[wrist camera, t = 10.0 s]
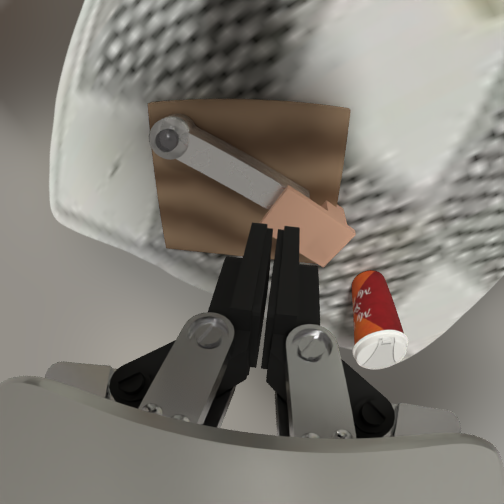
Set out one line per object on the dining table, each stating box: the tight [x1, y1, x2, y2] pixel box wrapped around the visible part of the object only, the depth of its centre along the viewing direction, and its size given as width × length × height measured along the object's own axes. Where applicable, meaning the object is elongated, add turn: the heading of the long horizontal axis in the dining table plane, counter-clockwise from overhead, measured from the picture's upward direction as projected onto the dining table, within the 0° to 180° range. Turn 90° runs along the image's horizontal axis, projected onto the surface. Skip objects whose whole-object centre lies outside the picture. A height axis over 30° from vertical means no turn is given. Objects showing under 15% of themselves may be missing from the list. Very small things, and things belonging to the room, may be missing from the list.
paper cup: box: [352, 270, 408, 369], centre depth 39 cm, size 8×8×14 cm
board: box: [148, 99, 350, 264], centre depth 37 cm, size 22×24×1 cm
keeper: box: [260, 185, 356, 267], centre depth 36 cm, size 10×6×6 cm, turn 59°
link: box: [149, 113, 310, 210], centre depth 33 cm, size 20×5×4 cm, turn 61°
